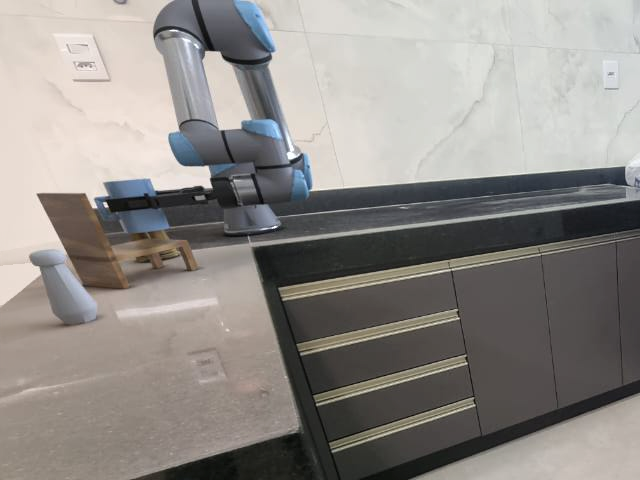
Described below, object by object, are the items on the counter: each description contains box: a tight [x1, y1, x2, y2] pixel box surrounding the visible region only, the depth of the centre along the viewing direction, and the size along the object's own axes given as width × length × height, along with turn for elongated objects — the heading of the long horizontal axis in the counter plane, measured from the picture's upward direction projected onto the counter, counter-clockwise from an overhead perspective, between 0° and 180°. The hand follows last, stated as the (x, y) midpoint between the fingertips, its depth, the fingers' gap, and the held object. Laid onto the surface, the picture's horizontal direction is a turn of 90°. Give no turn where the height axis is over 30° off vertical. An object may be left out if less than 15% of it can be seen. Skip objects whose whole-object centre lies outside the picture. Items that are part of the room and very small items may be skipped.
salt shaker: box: [28, 248, 99, 326], centre depth 94 cm, size 6×6×13 cm
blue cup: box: [93, 177, 171, 234], centre depth 119 cm, size 11×8×11 cm
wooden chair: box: [36, 192, 200, 290], centre depth 120 cm, size 16×14×20 cm
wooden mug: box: [129, 229, 179, 263], centre depth 136 cm, size 9×14×18 cm, turn 35°
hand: (111, 203), depth 117 cm, fingers closed on blue cup, 8 cm apart
